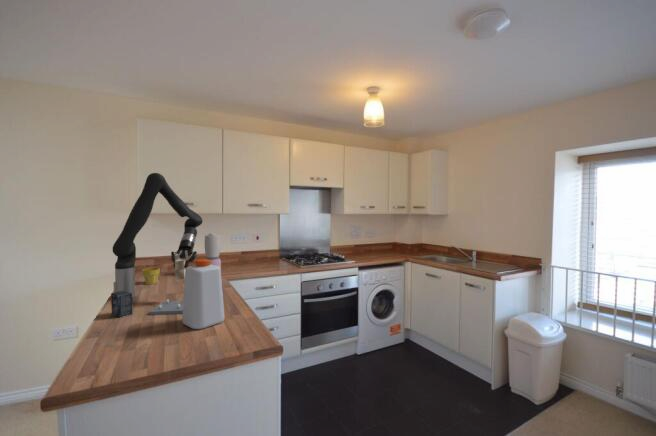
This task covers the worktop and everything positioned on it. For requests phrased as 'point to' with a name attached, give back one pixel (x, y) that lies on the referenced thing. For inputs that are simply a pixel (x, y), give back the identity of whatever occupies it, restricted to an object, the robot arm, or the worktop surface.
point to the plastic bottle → (203, 295)
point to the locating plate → (168, 308)
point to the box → (121, 303)
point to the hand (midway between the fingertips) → (180, 267)
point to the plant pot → (151, 275)
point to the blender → (213, 248)
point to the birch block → (180, 269)
